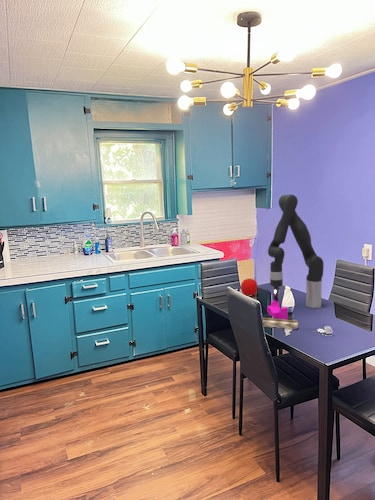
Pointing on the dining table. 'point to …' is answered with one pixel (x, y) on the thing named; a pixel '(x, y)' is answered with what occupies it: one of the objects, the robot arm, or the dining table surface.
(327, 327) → the teacup and saucer
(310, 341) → the dining table surface
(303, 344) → the dining table surface
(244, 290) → the tomato
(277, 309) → the toy block
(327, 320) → the dining table surface
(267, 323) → the plank
